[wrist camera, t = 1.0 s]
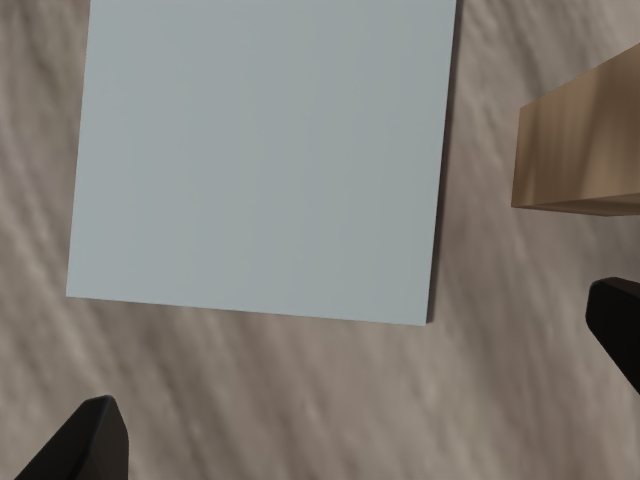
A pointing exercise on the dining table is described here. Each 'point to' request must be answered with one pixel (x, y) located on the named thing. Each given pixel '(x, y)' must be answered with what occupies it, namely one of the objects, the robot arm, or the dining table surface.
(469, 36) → the dining table surface
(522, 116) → the walnut block
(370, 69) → the mat
